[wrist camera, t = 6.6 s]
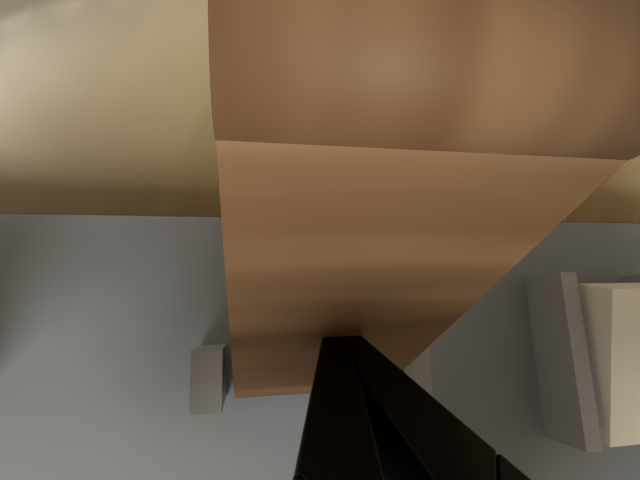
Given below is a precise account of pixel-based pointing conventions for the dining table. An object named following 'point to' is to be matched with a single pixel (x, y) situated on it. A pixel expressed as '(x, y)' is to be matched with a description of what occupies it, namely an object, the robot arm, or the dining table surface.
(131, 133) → the dining table surface
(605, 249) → the long grey mounting plate
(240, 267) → the walnut lever
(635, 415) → the rocker switch
